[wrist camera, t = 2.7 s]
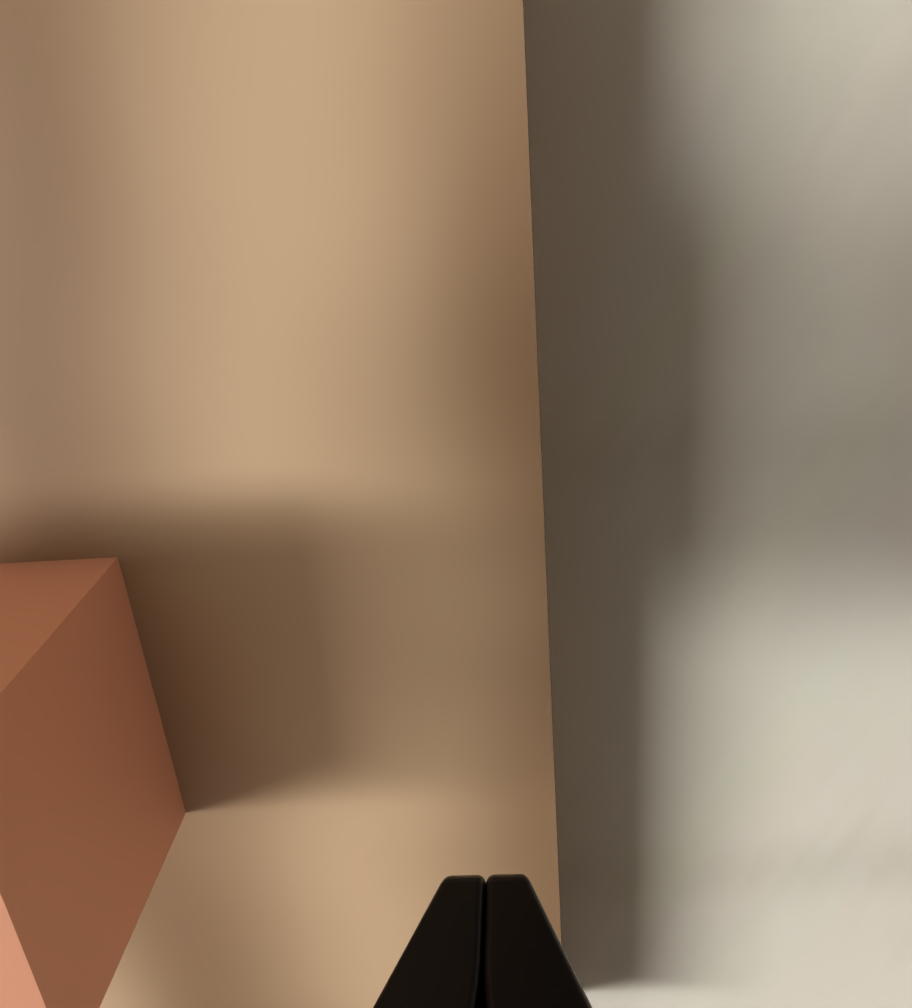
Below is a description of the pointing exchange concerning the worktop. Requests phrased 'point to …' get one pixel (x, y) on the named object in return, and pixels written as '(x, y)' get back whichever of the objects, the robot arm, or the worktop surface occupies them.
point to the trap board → (291, 453)
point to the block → (75, 781)
